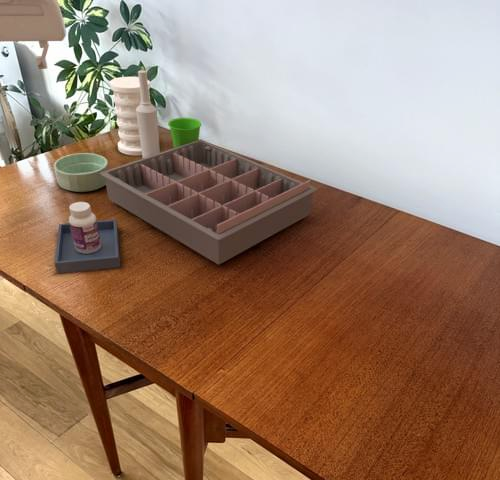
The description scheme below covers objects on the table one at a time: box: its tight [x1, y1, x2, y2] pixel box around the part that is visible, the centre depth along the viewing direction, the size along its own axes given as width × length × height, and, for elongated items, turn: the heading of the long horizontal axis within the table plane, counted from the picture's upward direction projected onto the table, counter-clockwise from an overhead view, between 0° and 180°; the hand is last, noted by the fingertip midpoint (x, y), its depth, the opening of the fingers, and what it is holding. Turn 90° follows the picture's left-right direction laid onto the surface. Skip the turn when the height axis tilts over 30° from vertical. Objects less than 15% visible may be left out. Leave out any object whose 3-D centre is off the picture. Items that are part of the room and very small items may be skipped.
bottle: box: [136, 69, 161, 159], centre depth 119 cm, size 5×5×25 cm
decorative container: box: [109, 76, 151, 157], centre depth 133 cm, size 12×12×18 cm
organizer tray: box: [100, 138, 318, 265], centre depth 109 cm, size 32×40×10 cm
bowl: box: [53, 152, 110, 193], centre depth 120 cm, size 13×13×5 cm
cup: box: [167, 117, 202, 148], centre depth 129 cm, size 9×9×11 cm
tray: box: [54, 219, 121, 274], centre depth 98 cm, size 12×15×2 cm
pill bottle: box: [68, 201, 101, 254], centre depth 95 cm, size 5×5×10 cm
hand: (16, 68), depth 87 cm, fingers open, 8 cm apart
